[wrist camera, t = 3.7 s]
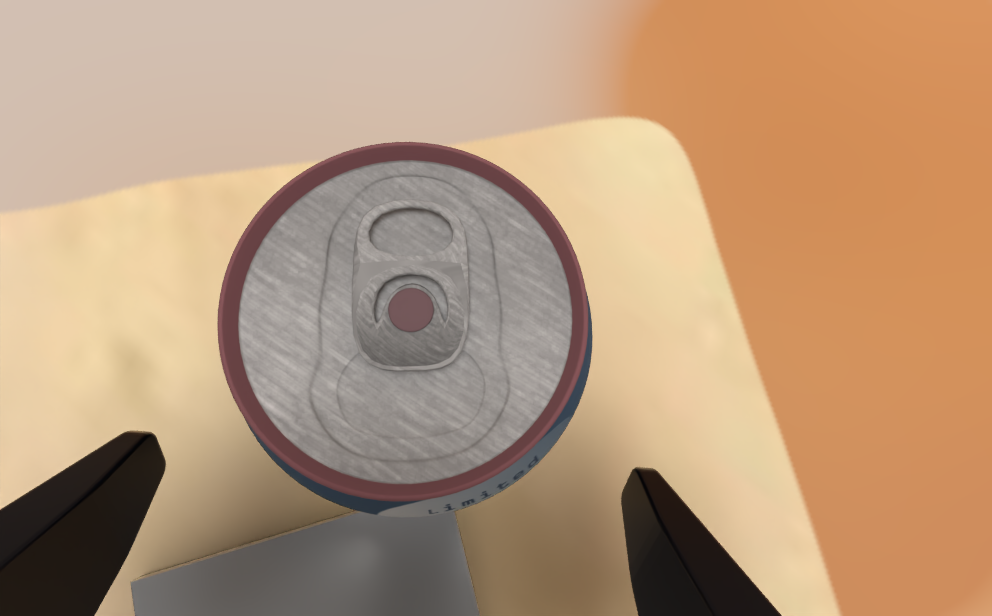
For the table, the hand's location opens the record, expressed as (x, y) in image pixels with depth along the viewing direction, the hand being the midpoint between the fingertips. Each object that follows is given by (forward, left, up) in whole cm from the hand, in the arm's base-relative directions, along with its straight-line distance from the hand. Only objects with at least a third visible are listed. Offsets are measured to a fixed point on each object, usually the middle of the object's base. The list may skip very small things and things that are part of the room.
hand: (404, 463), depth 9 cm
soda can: (+2, -1, -10) cm, 10 cm away
